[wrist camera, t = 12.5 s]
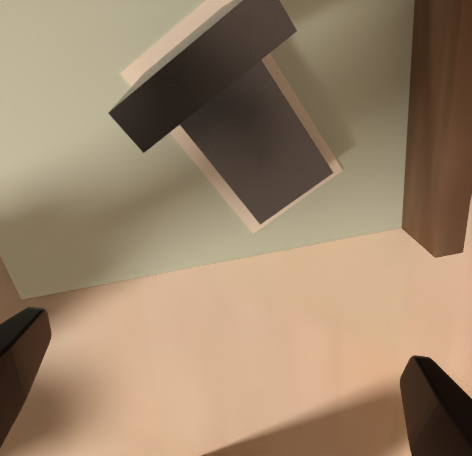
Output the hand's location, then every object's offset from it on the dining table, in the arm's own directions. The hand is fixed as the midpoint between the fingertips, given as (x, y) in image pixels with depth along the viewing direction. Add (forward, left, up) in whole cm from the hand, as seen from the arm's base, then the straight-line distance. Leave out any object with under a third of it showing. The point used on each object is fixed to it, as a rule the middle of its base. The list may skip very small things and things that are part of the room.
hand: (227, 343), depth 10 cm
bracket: (+2, +3, -12) cm, 13 cm away
